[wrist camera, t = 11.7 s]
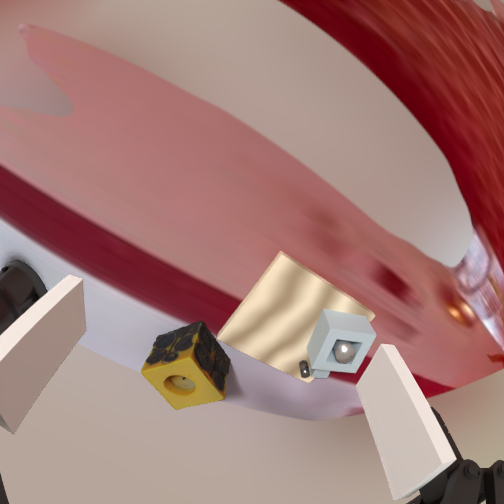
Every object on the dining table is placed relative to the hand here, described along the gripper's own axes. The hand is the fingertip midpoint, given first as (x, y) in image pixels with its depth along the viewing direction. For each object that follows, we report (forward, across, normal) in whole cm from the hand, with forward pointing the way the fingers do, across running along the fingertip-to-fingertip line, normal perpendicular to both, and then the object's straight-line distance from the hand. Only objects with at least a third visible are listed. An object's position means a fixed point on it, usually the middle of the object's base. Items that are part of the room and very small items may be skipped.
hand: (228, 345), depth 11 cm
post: (+29, +19, -17) cm, 39 cm away
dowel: (+29, +16, -25) cm, 41 cm away
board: (+31, +13, -17) cm, 38 cm away
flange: (+29, +19, -19) cm, 40 cm away
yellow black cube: (+31, -3, -27) cm, 41 cm away
